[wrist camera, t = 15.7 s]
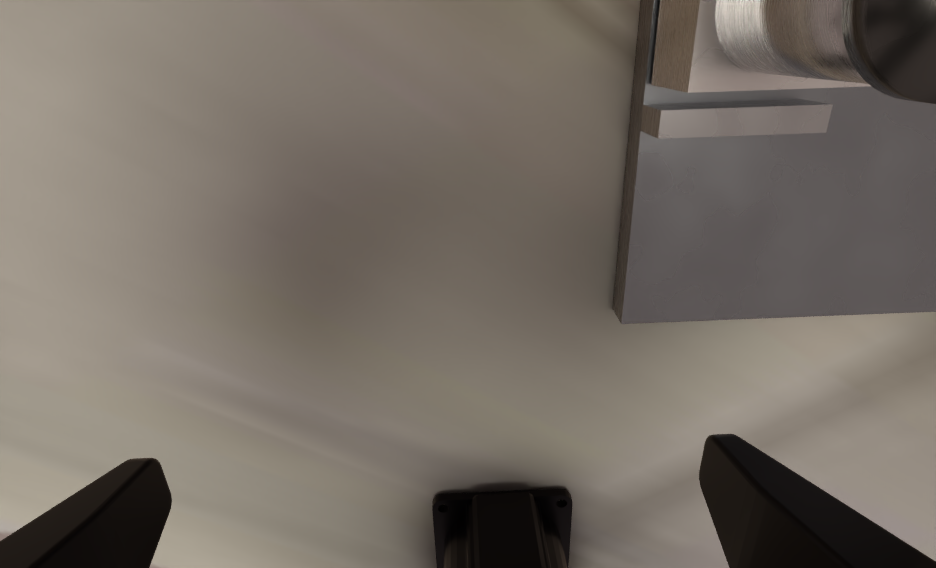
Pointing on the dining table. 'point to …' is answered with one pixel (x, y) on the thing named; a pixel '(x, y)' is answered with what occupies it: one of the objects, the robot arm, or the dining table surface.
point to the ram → (797, 46)
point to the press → (773, 202)
